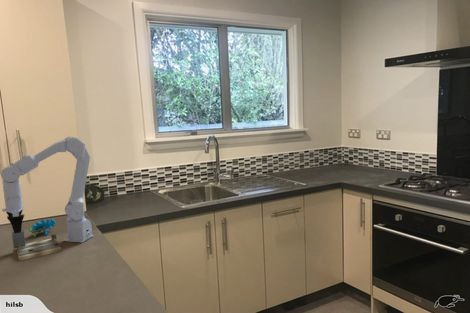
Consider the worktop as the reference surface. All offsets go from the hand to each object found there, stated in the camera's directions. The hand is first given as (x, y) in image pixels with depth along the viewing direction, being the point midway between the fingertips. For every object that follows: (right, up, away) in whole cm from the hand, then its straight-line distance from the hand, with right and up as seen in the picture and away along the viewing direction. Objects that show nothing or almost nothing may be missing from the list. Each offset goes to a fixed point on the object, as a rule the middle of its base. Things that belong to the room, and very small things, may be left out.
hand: (17, 230), depth 141 cm
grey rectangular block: (+1, -7, -1) cm, 7 cm away
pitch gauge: (+7, -8, +2) cm, 11 cm away
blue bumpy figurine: (-1, -6, +22) cm, 23 cm away
